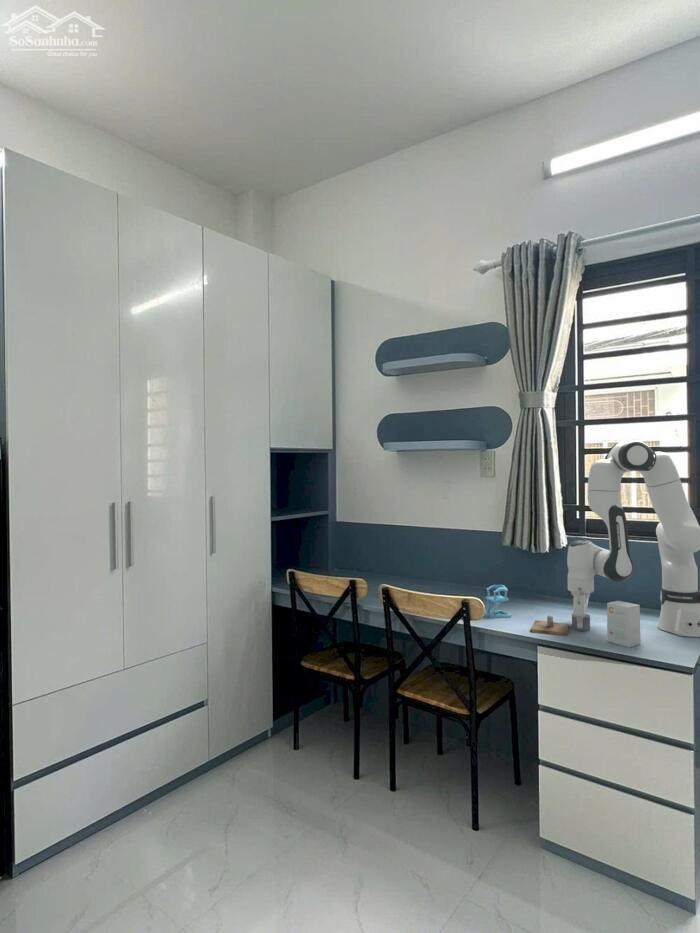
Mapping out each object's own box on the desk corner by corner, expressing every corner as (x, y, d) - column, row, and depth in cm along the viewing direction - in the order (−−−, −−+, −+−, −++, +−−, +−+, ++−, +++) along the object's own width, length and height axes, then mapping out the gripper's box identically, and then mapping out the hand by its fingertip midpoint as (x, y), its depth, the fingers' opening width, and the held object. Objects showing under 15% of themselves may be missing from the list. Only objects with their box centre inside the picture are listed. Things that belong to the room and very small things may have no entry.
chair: (482, 614, 233) (482, 584, 233) (501, 612, 235) (500, 582, 235) (493, 619, 225) (492, 588, 225) (512, 617, 228) (511, 586, 228)
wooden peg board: (569, 626, 214) (569, 614, 214) (566, 635, 203) (566, 622, 203) (535, 622, 219) (535, 610, 219) (530, 631, 209) (530, 619, 209)
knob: (590, 627, 213) (590, 612, 213) (589, 631, 208) (589, 616, 208) (572, 625, 216) (572, 610, 216) (571, 629, 210) (571, 614, 210)
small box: (640, 644, 193) (640, 604, 193) (629, 647, 190) (629, 607, 190) (618, 638, 200) (617, 599, 200) (606, 641, 197) (606, 602, 196)
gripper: (588, 592, 201) (588, 632, 201) (591, 580, 219) (592, 617, 219) (568, 591, 203) (569, 630, 204) (573, 579, 222) (574, 616, 222)
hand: (581, 623), depth 212 cm, fingers open, 8 cm apart
